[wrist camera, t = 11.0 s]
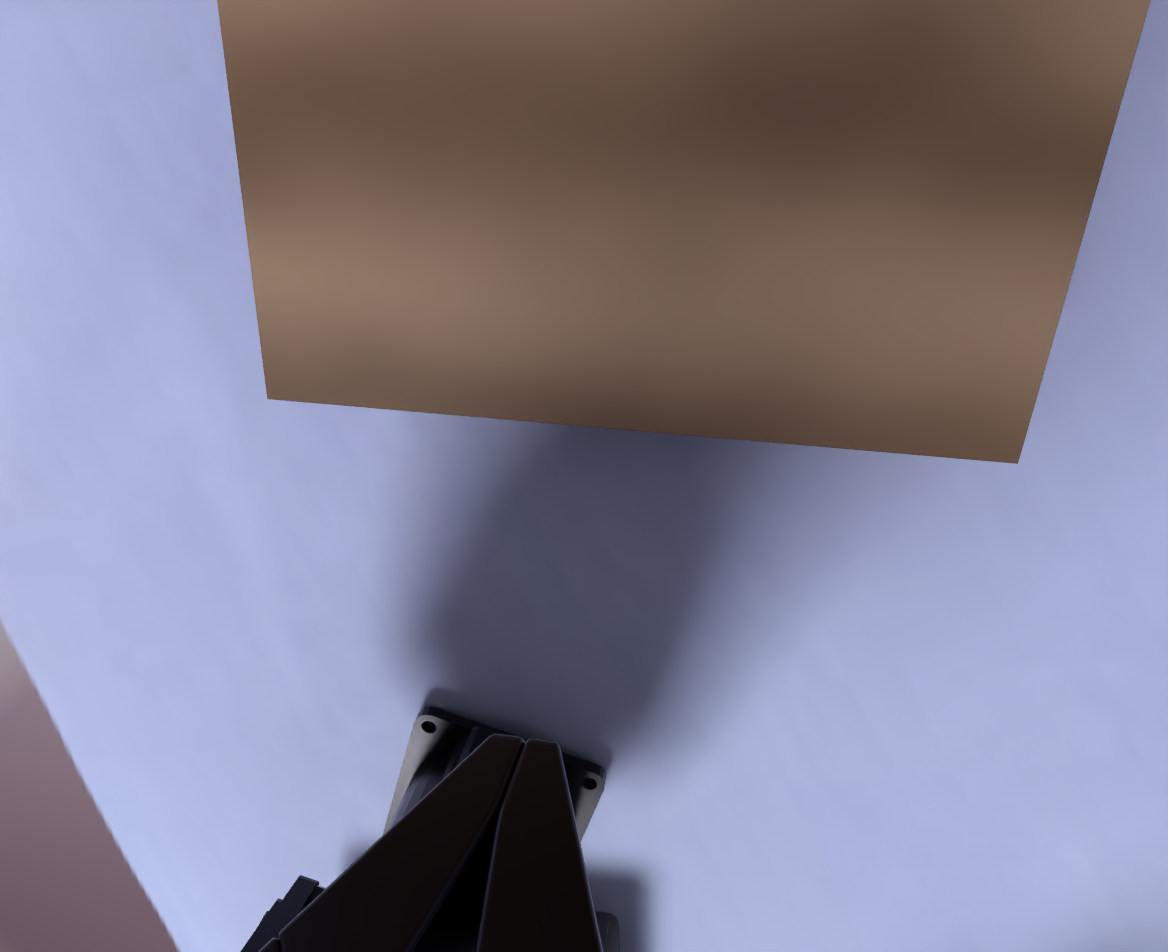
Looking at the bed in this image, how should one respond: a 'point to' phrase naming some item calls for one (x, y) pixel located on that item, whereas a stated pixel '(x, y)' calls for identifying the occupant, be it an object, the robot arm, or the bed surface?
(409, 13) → the paper towel roll tray
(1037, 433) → the bed surface
